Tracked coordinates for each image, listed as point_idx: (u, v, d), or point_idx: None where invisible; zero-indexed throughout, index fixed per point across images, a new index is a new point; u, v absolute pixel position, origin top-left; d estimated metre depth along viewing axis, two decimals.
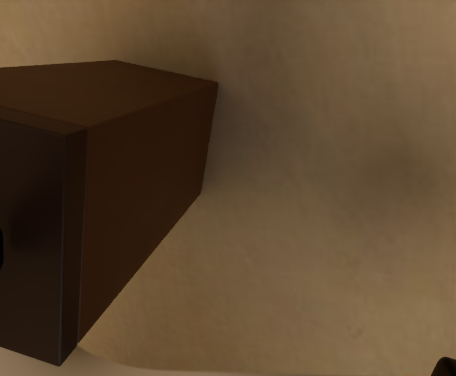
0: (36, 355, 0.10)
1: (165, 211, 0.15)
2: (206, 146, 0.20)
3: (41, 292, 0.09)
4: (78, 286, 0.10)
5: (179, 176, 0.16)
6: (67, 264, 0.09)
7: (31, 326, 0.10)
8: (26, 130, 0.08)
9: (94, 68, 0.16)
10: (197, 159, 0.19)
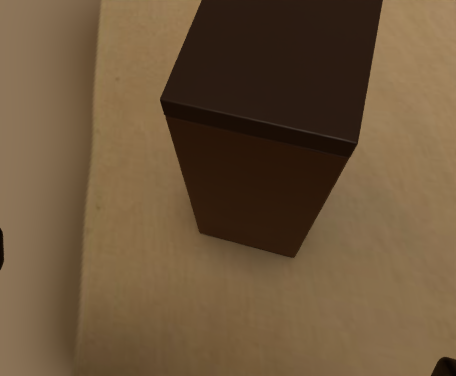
0: (334, 132, 0.10)
1: None
2: None
3: (351, 76, 0.11)
4: None
5: None
6: (370, 62, 0.12)
7: (334, 105, 0.11)
8: None
9: None
10: None
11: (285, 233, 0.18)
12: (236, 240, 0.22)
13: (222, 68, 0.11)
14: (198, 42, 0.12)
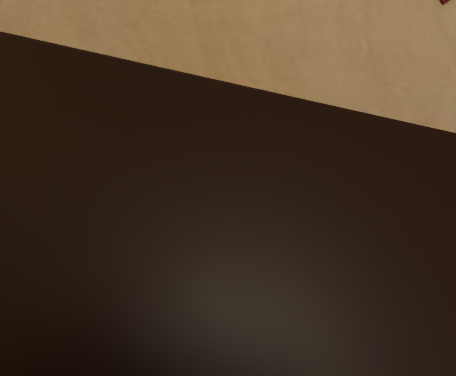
0: None
1: None
2: None
3: None
4: None
5: None
6: None
7: None
8: (415, 126, 0.04)
9: None
10: None
11: None
12: None
13: None
14: None
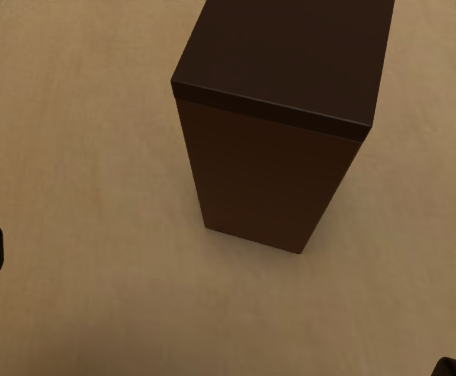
0: (348, 115, 0.10)
1: None
2: None
3: (365, 60, 0.11)
4: None
5: None
6: (385, 47, 0.11)
7: (348, 89, 0.11)
8: None
9: None
10: None
11: (293, 226, 0.18)
12: (242, 235, 0.21)
13: (234, 50, 0.11)
14: (210, 25, 0.12)
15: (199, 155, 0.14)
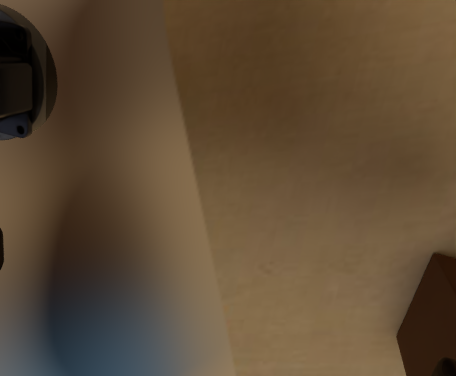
0: None
1: None
2: None
3: None
4: None
5: None
6: None
7: None
8: None
9: None
10: None
11: None
12: (419, 293, 0.20)
13: None
14: None
15: None
